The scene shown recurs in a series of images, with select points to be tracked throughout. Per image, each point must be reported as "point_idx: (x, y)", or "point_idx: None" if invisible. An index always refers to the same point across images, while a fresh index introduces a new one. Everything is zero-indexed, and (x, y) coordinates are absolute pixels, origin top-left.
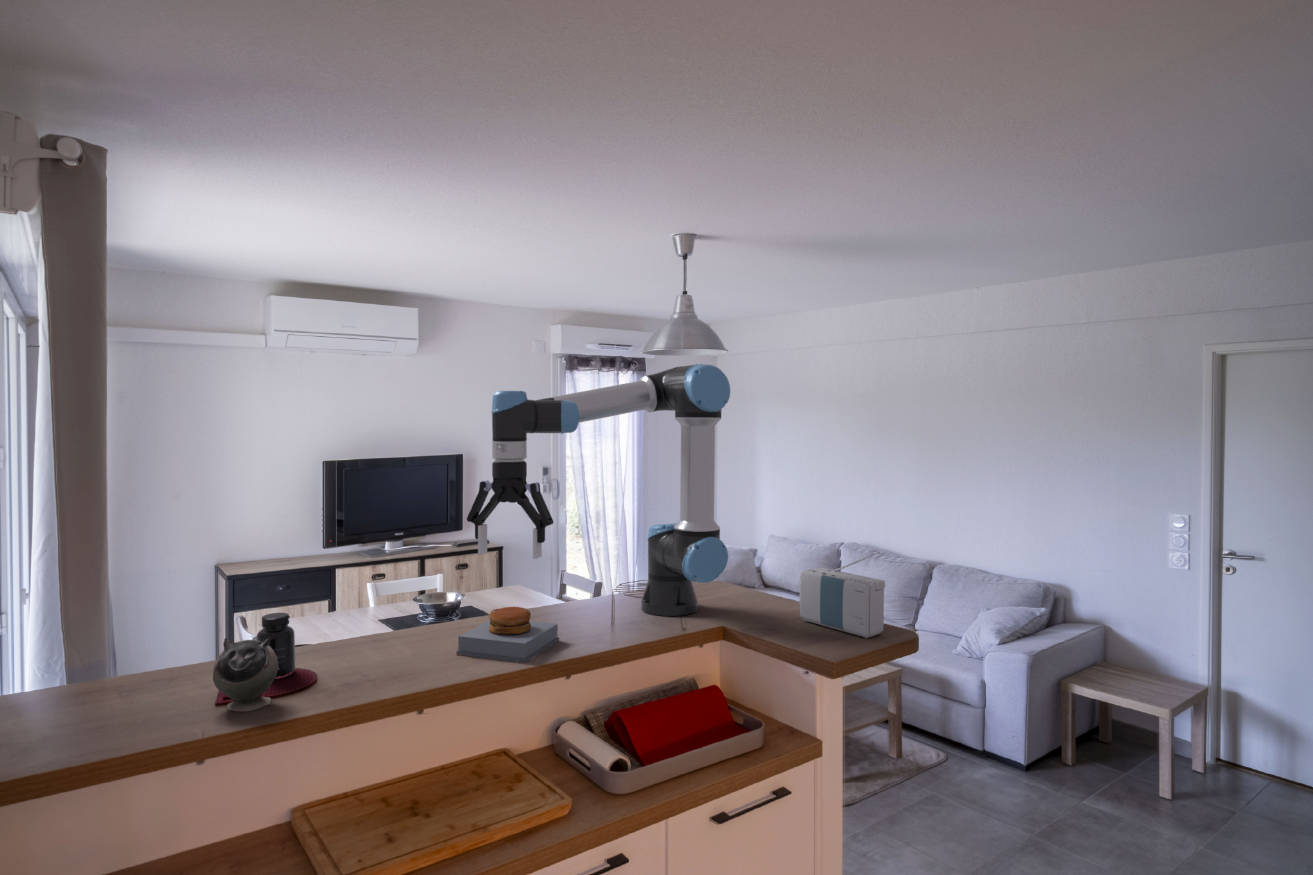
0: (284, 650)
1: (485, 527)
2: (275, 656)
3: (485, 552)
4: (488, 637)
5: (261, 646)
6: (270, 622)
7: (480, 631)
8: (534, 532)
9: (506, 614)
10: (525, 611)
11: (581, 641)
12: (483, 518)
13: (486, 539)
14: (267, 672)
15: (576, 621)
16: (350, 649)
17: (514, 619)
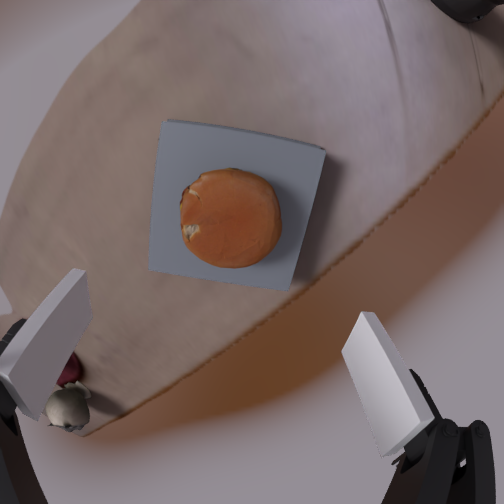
0: None
1: (24, 376)
2: (76, 416)
3: (86, 288)
4: (206, 268)
5: (70, 427)
6: None
7: (173, 234)
8: (382, 440)
9: (233, 260)
10: (271, 225)
11: (360, 147)
12: (21, 448)
13: (54, 316)
14: (88, 419)
15: (319, 15)
16: (21, 255)
17: (255, 263)
